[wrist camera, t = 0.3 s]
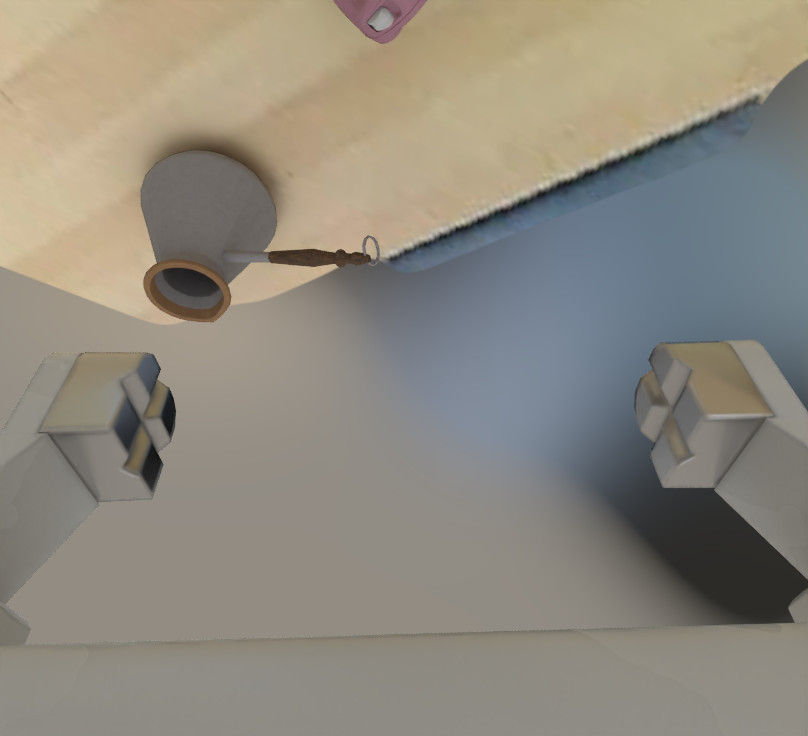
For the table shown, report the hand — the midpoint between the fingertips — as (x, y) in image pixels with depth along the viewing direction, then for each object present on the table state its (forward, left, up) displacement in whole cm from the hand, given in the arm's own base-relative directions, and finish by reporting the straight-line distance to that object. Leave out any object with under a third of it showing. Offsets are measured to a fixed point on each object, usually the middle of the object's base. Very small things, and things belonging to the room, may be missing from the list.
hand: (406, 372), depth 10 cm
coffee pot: (+23, -11, -39) cm, 46 cm away
